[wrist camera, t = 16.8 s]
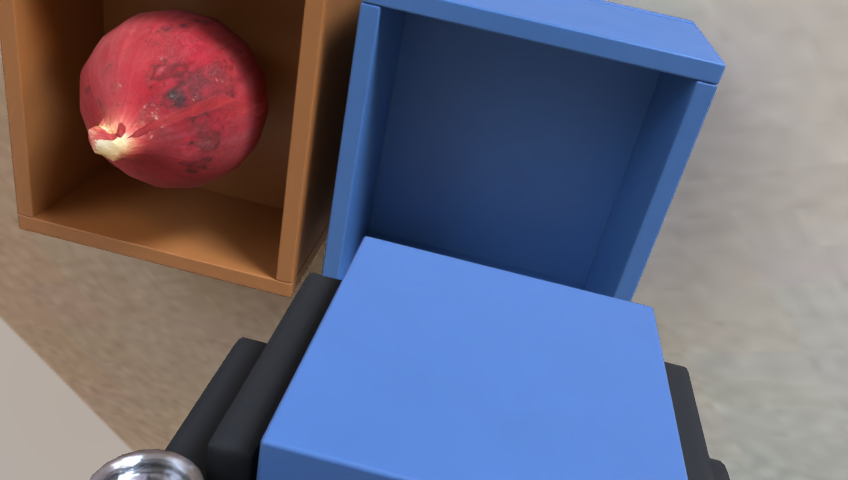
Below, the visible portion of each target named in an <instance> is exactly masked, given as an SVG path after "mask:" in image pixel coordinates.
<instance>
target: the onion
mask: <svg viewBox="0 0 848 480" xmlns="http://www.w3.org/2000/svg"><path fill="white" fill-rule="evenodd" d="M80 111H81V114H82V117H83V120H84V123H85V126H86V129H87V131H88V139H89V142H90V144H91V146H92V148H93V150H94V152H95V153H97V154H100V155H103V156H104V158H106V159H107V160H108V161H110V162H111V163H112V164H114V165H115V166H116V167H118V168H119V169H120V170H122V171H123V172H124V173H126V174H127V175H129V176H130V177H133V178H135V179H138V180H140V181H143V182H145V183H148V184H150V185H153V186H155V187H160V188H195V187H199V186H202V185H205V184H207V183H209V182H212V181H214V180H216V179H218V178H220V177H223V176H225V175H227V174H228V173H230V172H231V171H233V170H234V169H236V168H237V167H238V166H239V165H240V164H241V163H242V162H243V161H244V160H245V159H246V158H247V156H248V155H249V154H250V153H251V152H252V151H253V150H254V149H255V147H256V145H257V143H258V142H259V140H260V138H261V134H262V131H263V128H264V125H265V121H266V118H267V115H268V111H269V106H268V96H267V86H266V77H265V74H264V72H263V71H262V69H261V67H260V65H259V64H258V62H257V60H256V58H255V56H254V55H253V53H252V51H251V49H250V47H249V46H248V44H247V43H246V42H245V41H244V40H243V39H241V38H240V37H239V36H238V35H237V34H235V33H234V32H233V31H232V30H230V29H229V28H228V27H227V26H225V25H224V24H223V23H222V22H221V21H219V20H218V19H215V18H212V17H208V16H204V15H200V14H196V13H193V12H189V11H185V10H176V9H170V10H162V11H153V12H145V13H139V14H137V15H135V16H133V17H131V18H129V19H127V20H126V21H125V22H123V23H122V24H120V25H119V26H117V27H116V28H115V29H113V30H112V31H110V32H109V33H107V34H106V35H105V36H103V37H102V39H101V40H100V41H99V43H98V44H97V45H96V47H95V49H94V50H93V52H92V54H91V55H90V57H89V59H88V60H87V62H86V63H85V65H84V67H83V68H82V70H81V73H80Z"/></svg>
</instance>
